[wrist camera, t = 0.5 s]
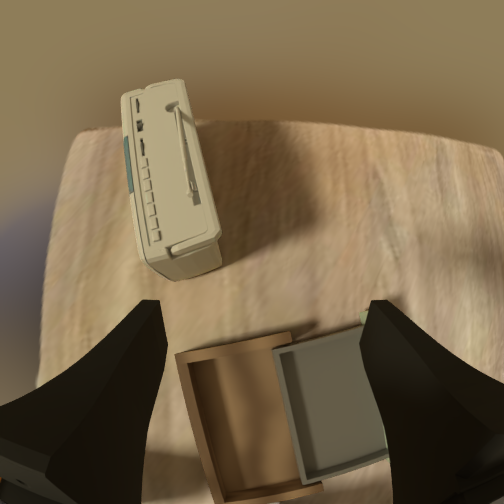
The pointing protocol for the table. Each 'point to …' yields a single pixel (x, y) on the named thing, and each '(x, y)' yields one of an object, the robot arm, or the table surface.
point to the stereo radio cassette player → (169, 183)
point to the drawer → (330, 405)
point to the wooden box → (241, 422)
